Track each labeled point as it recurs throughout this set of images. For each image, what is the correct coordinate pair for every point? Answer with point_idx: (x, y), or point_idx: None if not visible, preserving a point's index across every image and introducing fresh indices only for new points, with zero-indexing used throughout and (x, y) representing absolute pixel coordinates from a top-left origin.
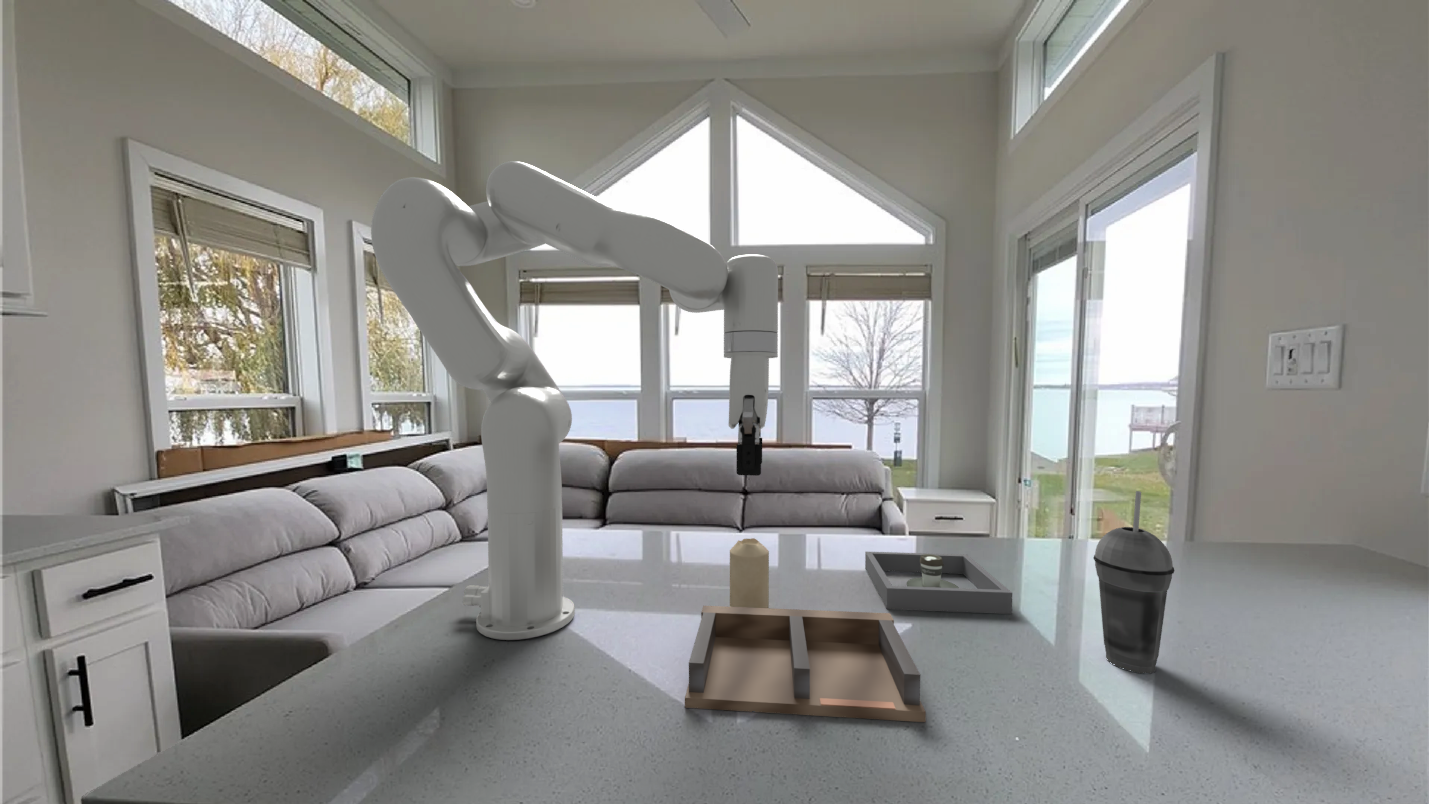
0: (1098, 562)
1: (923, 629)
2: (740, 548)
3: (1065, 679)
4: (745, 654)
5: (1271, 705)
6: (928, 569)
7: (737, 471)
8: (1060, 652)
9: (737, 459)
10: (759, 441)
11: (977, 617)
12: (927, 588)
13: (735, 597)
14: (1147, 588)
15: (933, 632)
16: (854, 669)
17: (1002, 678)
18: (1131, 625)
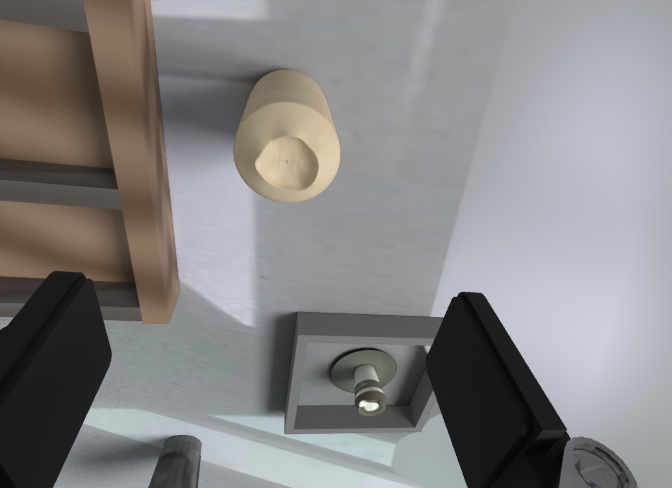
0: None
1: (235, 333)
2: (257, 136)
3: (138, 402)
4: (54, 87)
5: (133, 477)
6: (358, 390)
7: (47, 282)
8: (196, 415)
9: (4, 338)
10: (468, 474)
11: (275, 384)
12: (297, 373)
13: (256, 88)
14: None
15: (228, 340)
16: (64, 243)
17: (124, 364)
18: (150, 484)
